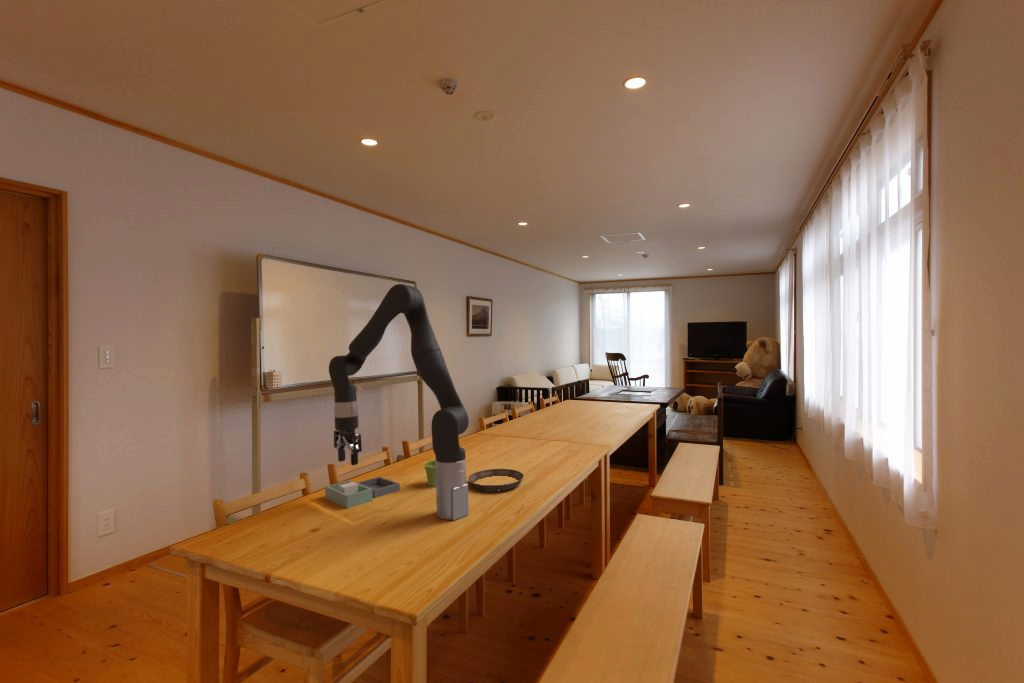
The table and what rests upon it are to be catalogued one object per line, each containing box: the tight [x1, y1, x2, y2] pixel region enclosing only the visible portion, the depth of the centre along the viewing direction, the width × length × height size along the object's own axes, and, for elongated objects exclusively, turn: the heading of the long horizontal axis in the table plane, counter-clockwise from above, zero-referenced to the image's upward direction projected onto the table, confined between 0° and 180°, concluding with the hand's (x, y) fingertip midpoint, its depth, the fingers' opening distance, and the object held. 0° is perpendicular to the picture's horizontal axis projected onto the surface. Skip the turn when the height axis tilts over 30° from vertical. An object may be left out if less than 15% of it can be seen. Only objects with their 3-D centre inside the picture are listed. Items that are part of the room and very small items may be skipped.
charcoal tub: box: [356, 476, 401, 499], centre depth 167 cm, size 13×10×4 cm
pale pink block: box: [339, 481, 358, 495], centre depth 158 cm, size 4×5×5 cm
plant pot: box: [422, 459, 436, 488], centre depth 173 cm, size 9×9×9 cm
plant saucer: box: [467, 468, 525, 492], centre depth 175 cm, size 21×21×3 cm
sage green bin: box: [324, 479, 374, 509], centre depth 158 cm, size 15×9×5 cm, turn 48°
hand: (348, 462), depth 158 cm, fingers open, 8 cm apart
